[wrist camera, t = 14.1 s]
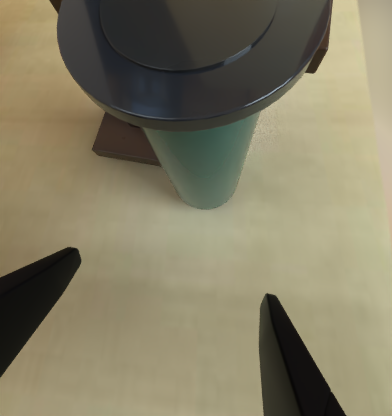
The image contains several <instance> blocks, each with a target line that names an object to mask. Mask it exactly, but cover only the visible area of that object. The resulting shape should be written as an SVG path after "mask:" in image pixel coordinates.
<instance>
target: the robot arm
mask: <svg viewBox="0 0 392 416" xmlns="http://www.w3.org/2000/svg"><path fill="white" fill-rule="evenodd" d="M80 264H81V257H80V254H79V250H78V249H77V248H73V247H67V248H65V249H63V250H61V251H58V252H56V253H54V254H52V255H49V256H47V257H45V258H43V259H40V260H38V261H36V262H34V263H32V264H29V265H27V266H25V267H23V268H20V269H18V270H16V271H14V272H12V273H9V274H7V275H5V276H3V277H0V377H1V376H2V375H3V373H4V372H5V371H6V369H7V368H8V367H9V365H10V364H11V363H12V361H13V360H14V359H15V357H16V356H17V355H18V353H19V352H20V351H21V349H22V348H23V346H24V345H25V344H26V342H27V341H28V340H29V338H30V337H31V336H32V334H33V333H34V332H35V330H36V329H37V328H38V326H39V325H40V324H41V322H42V321H43V320H44V318H45V317H46V316H47V314H48V313H49V312H50V310H51V309H52V307H53V306H54V305H55V303H56V302H57V301H58V299H59V298H60V297H61V295H62V294H63V292H64V291H65V289H66V288H67V286H68V284H69V283H70V281H71V279H72V278H73V276H74V274H75V273H76V271H77V270H78V268H79V266H80ZM259 357H260V371H261V384H262V398H263V412H264V416H346V415H345V413H344V411H343V410H342V408H341V406H340V405H339V403H338V401H337V399H336V398H335V396H334V394H333V393H332V392H331V389H330V387H329V386H328V384H327V382H326V381H325V379H324V377H323V375H322V374H321V372H320V370H319V369H318V367H317V365H316V363H315V362H314V360H313V358H312V357H311V355H310V353H309V351H308V350H307V348H306V346H305V344H304V343H303V341H302V339H301V338H300V336H299V334H298V332H297V331H296V329H295V327H294V326H293V324H292V322H291V320H290V319H289V317H288V315H287V313H286V312H285V310H284V308H283V307H282V305H281V303H280V301H279V300H278V298H277V297H276V296H275V295H272V294H268V293H267V294H265V296H264V298H263V301H262V303H261V306H260V326H259Z"/></svg>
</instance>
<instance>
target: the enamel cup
mask: <svg viewBox="0 0 392 416" xmlns="http://www.w3.org/2000/svg"><path fill="white" fill-rule="evenodd" d="M330 9H331V0H62V2H61V6H60V10H59V14H58V21H57V40H58V45H59V49H60V53H61V56H62V59H63V61H64V63H65V66H66V68H67V69H68V71H69V72H70V74H71V75H72V77H73V79H74V80H75V81H76V83H77V84H78V85H79V86H80V88H81V89H82V90H83V91H84V93H85V94H86V95H87V96H88V97H89V98H90V99H91V100H92V101H93V102H94V103H95V104H97V105H98V106H99V107H100V108H102V109H103V110H104V111H106V112H108V113H109V114H111V115H113V116H115V117H116V118H118V119H120V120H123V121H125V122H128V123H130V124H133V125H136V126H139V127H140V128H141V130H142V132H143V134H144V135H145V137H146V139H147V141H148V142H149V144H150V146H151V148H152V149H153V151H154V153H155V155H156V157H157V158H158V160H159V162H160V164H161V165H162V167H163V169H164V171H165V172H166V174H167V176H168V178H169V179H170V181H171V183H172V185H173V187H174V188H175V190H176V192H177V194H178V195H179V197H180V198H181V199H182V200H183V201H184V202H185V203H186V204H188V205H189V206H192V207H194V208H197V209H213V208H216V207H219V206H221V205H223V204H224V203H226V202H227V201H228V200H229V199H230V198H231V197H232V195H233V194H234V192H235V189H236V187H237V183H238V180H239V177H240V174H241V171H242V168H243V165H244V162H245V159H246V155H247V152H248V149H249V146H250V143H251V140H252V137H253V134H254V131H255V128H256V124H257V121H258V118H259V115H260V112H261V111H262V110H263V109H265V108H266V107H268V106H269V105H271V104H272V103H274V102H275V101H277V100H278V99H279V98H281V97H282V96H283V95H284V94H285V93H286V92H287V91H289V90H290V89H291V88H292V87H293V86H294V85H295V84H296V82H297V81H298V80H299V79H300V78H301V77H302V76H303V74H304V73H305V71H306V70H307V68H308V67H309V65H310V64H311V62H312V61H313V59H314V57H315V55H316V53H317V51H318V49H319V47H320V44H321V42H322V40H323V38H324V35H325V33H326V30H327V26H328V22H329V18H330Z"/></svg>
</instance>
